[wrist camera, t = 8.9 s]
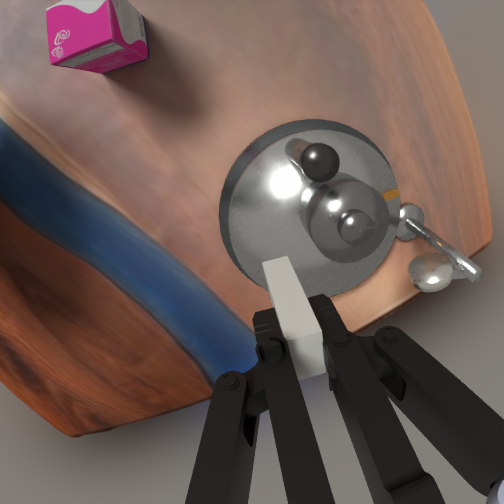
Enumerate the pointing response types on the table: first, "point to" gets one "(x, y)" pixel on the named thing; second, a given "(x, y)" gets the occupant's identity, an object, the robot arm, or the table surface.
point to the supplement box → (95, 35)
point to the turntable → (288, 201)
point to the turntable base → (254, 149)
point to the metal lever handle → (433, 255)
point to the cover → (344, 217)
